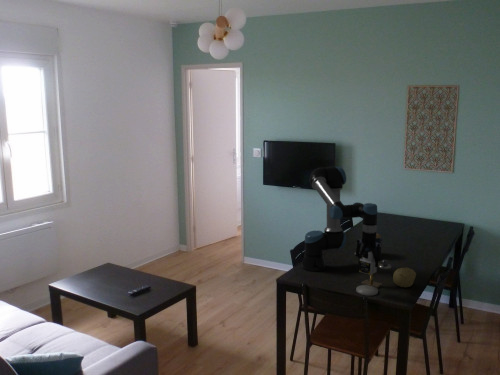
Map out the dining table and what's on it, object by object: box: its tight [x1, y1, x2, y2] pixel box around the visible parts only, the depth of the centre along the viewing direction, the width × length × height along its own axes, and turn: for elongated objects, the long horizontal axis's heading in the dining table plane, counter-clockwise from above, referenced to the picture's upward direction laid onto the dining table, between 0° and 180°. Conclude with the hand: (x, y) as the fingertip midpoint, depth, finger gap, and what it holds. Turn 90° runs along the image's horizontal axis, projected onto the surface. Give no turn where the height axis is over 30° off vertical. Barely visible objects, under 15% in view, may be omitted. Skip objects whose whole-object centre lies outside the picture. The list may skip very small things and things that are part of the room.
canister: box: [365, 232, 383, 256], centre depth 322 cm, size 13×13×18 cm
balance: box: [353, 250, 392, 290], centre depth 272 cm, size 22×7×18 cm, turn 51°
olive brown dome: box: [392, 267, 417, 289], centre depth 272 cm, size 12×12×11 cm
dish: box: [355, 284, 379, 297], centre depth 265 cm, size 12×12×1 cm
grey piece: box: [358, 250, 375, 276], centre depth 261 cm, size 7×7×12 cm
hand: (367, 270), depth 263 cm, fingers closed on grey piece, 7 cm apart
